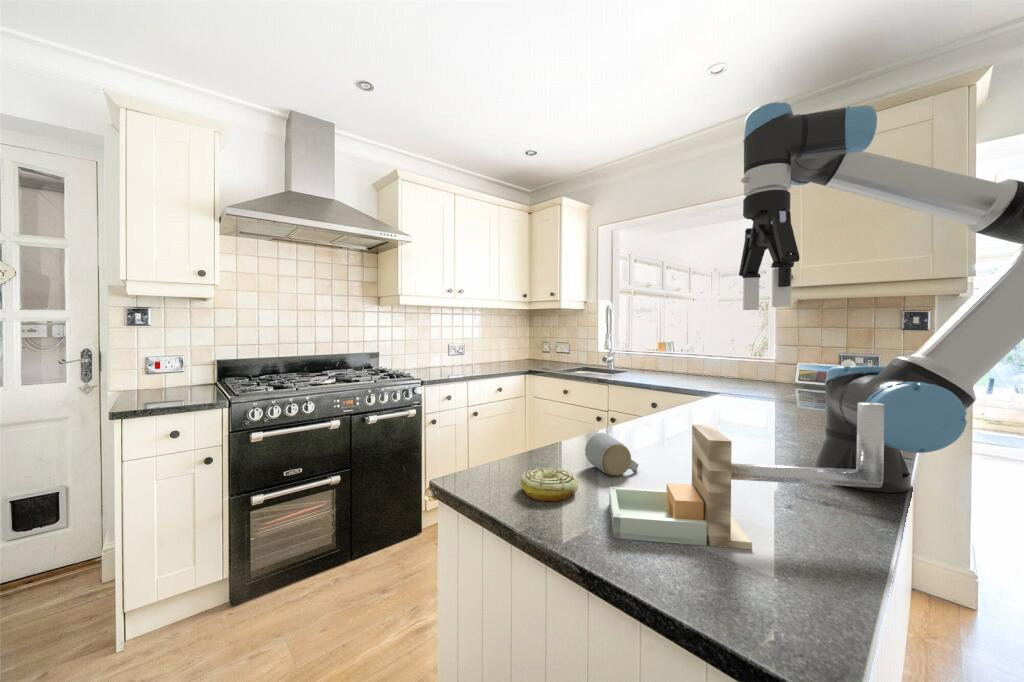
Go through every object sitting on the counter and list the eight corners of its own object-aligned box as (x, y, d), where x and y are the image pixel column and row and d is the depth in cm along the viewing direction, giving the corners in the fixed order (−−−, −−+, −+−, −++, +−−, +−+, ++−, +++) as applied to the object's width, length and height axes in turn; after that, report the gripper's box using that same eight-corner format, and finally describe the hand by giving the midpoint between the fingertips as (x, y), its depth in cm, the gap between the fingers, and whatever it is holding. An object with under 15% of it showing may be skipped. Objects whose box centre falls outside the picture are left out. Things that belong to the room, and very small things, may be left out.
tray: (687, 509, 72) (687, 491, 71) (706, 545, 60) (706, 523, 60) (609, 504, 74) (609, 486, 74) (613, 538, 62) (613, 516, 62)
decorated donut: (588, 498, 77) (588, 478, 77) (536, 508, 73) (536, 487, 73) (560, 479, 87) (560, 461, 87) (512, 487, 82) (512, 468, 82)
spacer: (691, 511, 69) (692, 484, 69) (703, 531, 62) (703, 502, 62) (666, 509, 70) (666, 483, 70) (675, 529, 63) (675, 500, 63)
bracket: (724, 512, 70) (725, 424, 70) (751, 549, 59) (753, 443, 58) (690, 509, 71) (690, 423, 71) (710, 546, 60) (711, 442, 59)
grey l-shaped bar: (874, 483, 62) (875, 402, 62) (888, 491, 59) (890, 406, 59) (712, 474, 66) (713, 398, 66) (718, 481, 63) (719, 402, 63)
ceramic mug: (603, 479, 86) (603, 442, 86) (584, 467, 94) (584, 433, 93) (646, 475, 89) (647, 439, 89) (625, 463, 97) (625, 430, 97)
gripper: (723, 213, 91) (722, 311, 91) (773, 171, 66) (771, 305, 67) (761, 211, 89) (759, 310, 90) (826, 167, 65) (824, 304, 65)
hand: (764, 308), depth 78 cm, fingers open, 13 cm apart
